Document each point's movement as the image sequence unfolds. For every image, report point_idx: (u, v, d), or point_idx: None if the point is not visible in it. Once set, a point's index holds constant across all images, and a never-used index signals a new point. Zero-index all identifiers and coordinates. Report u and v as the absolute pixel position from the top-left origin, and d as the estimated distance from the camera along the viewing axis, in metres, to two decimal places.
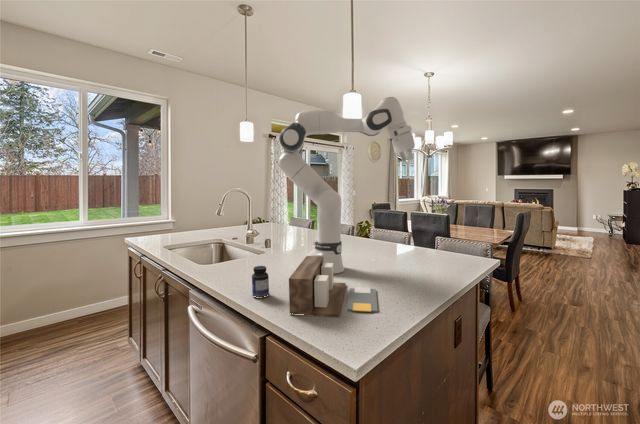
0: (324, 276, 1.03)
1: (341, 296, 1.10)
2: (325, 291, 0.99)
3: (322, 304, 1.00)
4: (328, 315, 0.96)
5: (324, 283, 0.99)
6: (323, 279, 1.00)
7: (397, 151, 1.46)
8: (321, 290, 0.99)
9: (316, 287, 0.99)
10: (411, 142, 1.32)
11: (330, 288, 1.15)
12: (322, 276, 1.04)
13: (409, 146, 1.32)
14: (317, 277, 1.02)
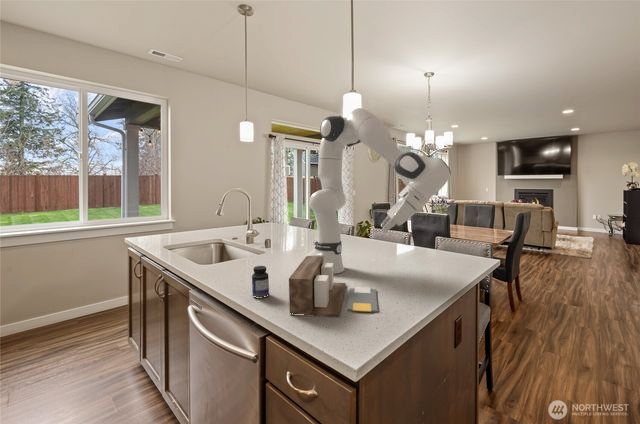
0: (324, 276, 1.03)
1: (341, 296, 1.10)
2: (325, 291, 0.99)
3: (322, 304, 1.00)
4: (328, 315, 0.96)
5: (324, 283, 0.99)
6: (323, 279, 1.00)
7: (388, 212, 1.09)
8: (321, 290, 0.99)
9: (316, 287, 0.99)
10: (402, 218, 0.94)
11: (330, 288, 1.15)
12: (322, 276, 1.04)
13: (396, 218, 0.95)
14: (317, 277, 1.02)
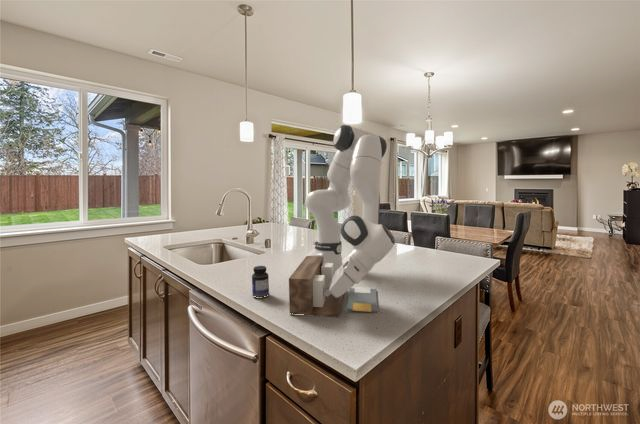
0: (320, 276, 1.04)
1: (341, 296, 1.10)
2: (321, 291, 0.99)
3: (318, 304, 1.00)
4: (328, 315, 0.96)
5: (320, 283, 0.99)
6: (319, 279, 1.00)
7: (334, 274, 1.06)
8: (318, 290, 0.99)
9: None
10: (339, 291, 0.91)
11: None
12: (318, 276, 1.04)
13: (332, 291, 0.92)
14: (313, 277, 1.03)
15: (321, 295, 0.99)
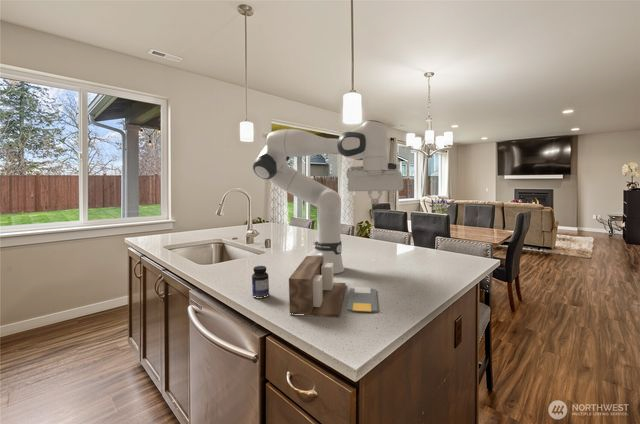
0: (318, 276, 1.04)
1: (341, 296, 1.10)
2: (318, 291, 0.99)
3: (316, 304, 1.00)
4: (328, 315, 0.96)
5: (317, 283, 0.99)
6: (317, 279, 1.01)
7: (361, 188, 1.11)
8: (315, 290, 1.00)
9: None
10: None
11: (330, 288, 1.15)
12: (316, 276, 1.04)
13: None
14: None
15: (318, 295, 1.00)
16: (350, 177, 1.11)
